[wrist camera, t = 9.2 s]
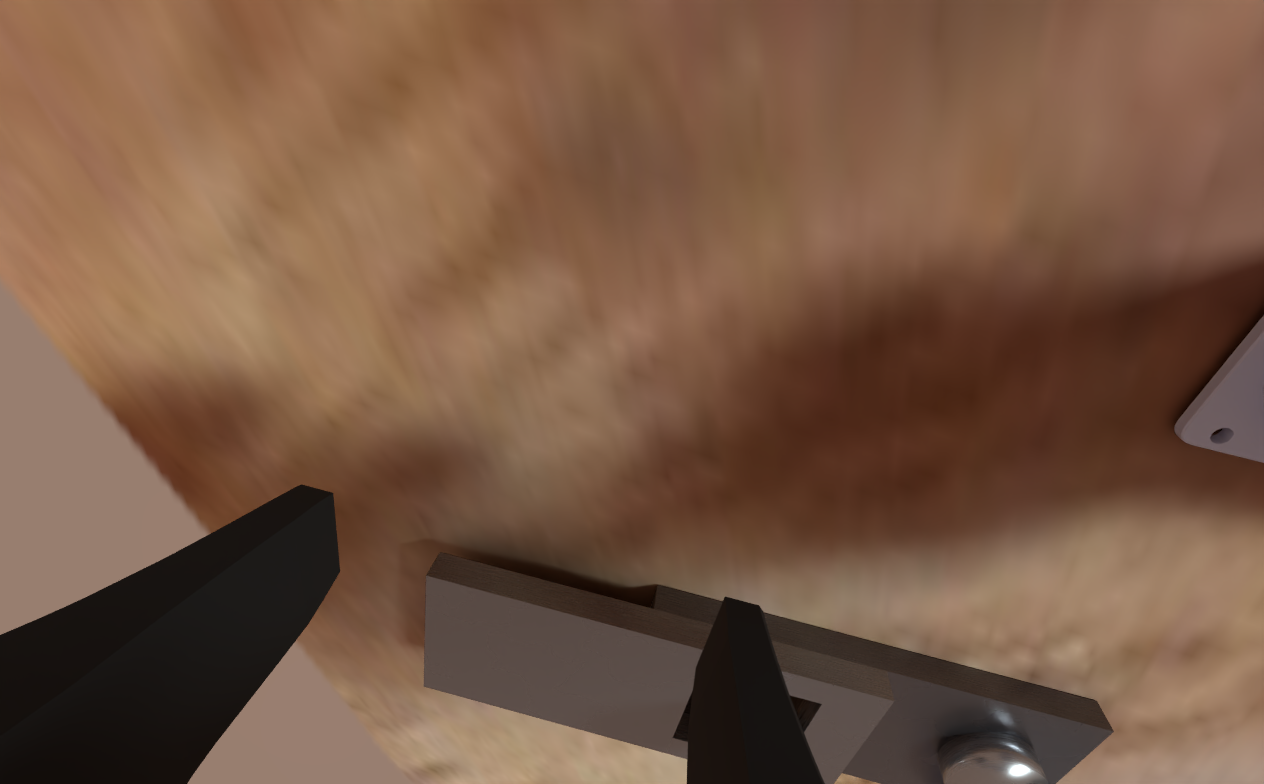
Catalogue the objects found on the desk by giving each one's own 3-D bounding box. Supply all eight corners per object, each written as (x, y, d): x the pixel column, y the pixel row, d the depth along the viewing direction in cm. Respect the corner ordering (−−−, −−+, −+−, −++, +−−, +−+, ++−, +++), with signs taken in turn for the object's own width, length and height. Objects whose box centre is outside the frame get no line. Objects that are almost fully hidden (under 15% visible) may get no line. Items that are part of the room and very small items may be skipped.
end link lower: (1096, 701, 23) (1132, 765, 21) (1003, 790, 26) (1026, 852, 24) (657, 584, 23) (650, 635, 21) (625, 687, 27) (615, 739, 25)
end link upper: (880, 643, 23) (894, 701, 21) (817, 739, 27) (824, 796, 25) (453, 530, 24) (426, 575, 22) (447, 638, 27) (423, 686, 25)
